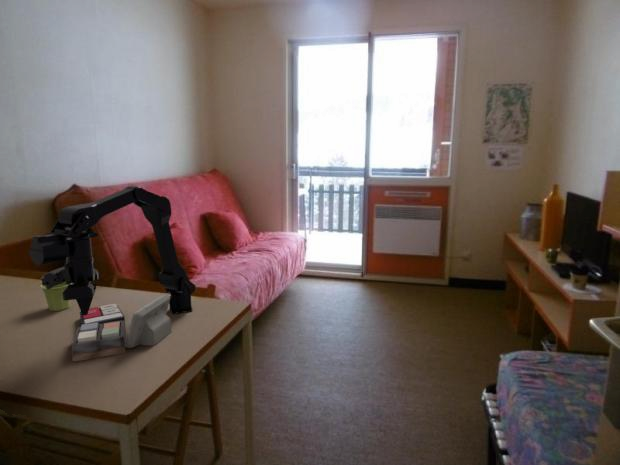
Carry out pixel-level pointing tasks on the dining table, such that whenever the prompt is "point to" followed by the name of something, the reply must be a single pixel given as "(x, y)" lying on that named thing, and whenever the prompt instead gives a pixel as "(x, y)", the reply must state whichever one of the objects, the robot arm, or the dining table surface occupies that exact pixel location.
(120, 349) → the keypad
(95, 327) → the key slate
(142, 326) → the digital clock
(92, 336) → the key cream
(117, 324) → the key terracotta
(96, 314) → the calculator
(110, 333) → the key sage
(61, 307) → the plant pot
